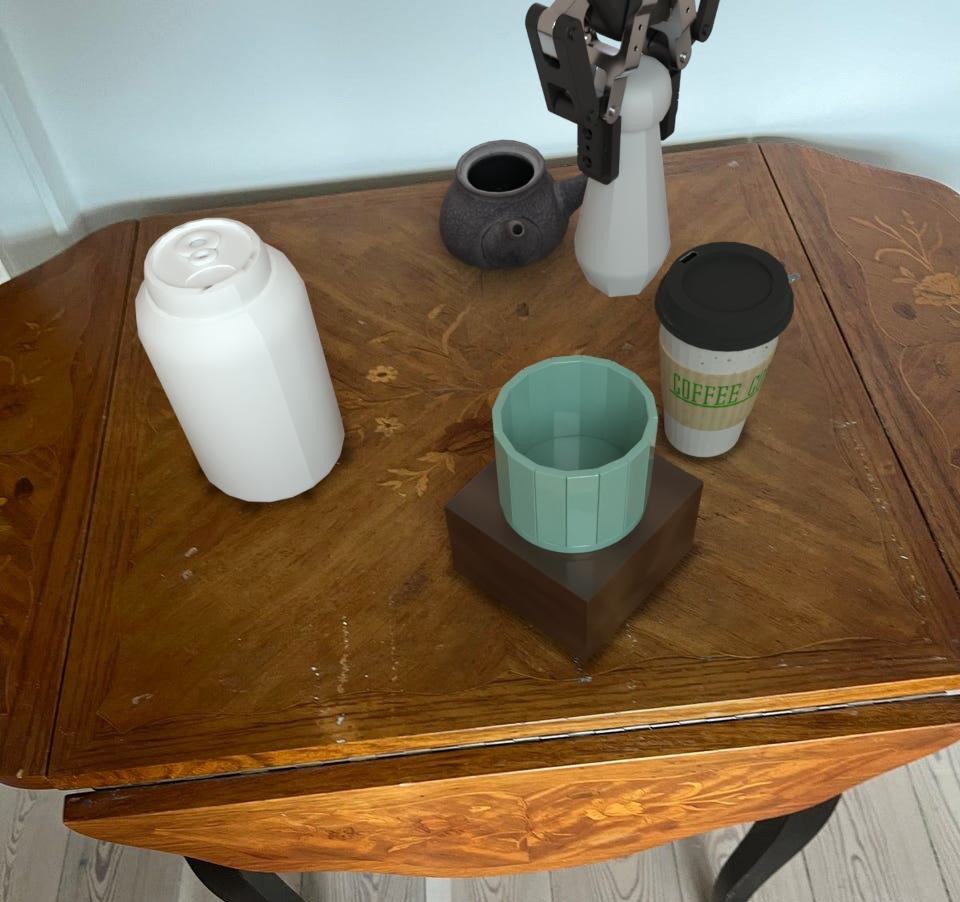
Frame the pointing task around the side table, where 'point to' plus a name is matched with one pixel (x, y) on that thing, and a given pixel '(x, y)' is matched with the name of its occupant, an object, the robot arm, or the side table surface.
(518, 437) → the green cup
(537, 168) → the teapot
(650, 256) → the salt shaker
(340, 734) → the side table surface
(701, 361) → the coffee cup
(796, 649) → the side table surface
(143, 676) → the side table surface
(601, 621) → the block
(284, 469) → the can
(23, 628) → the side table surface
